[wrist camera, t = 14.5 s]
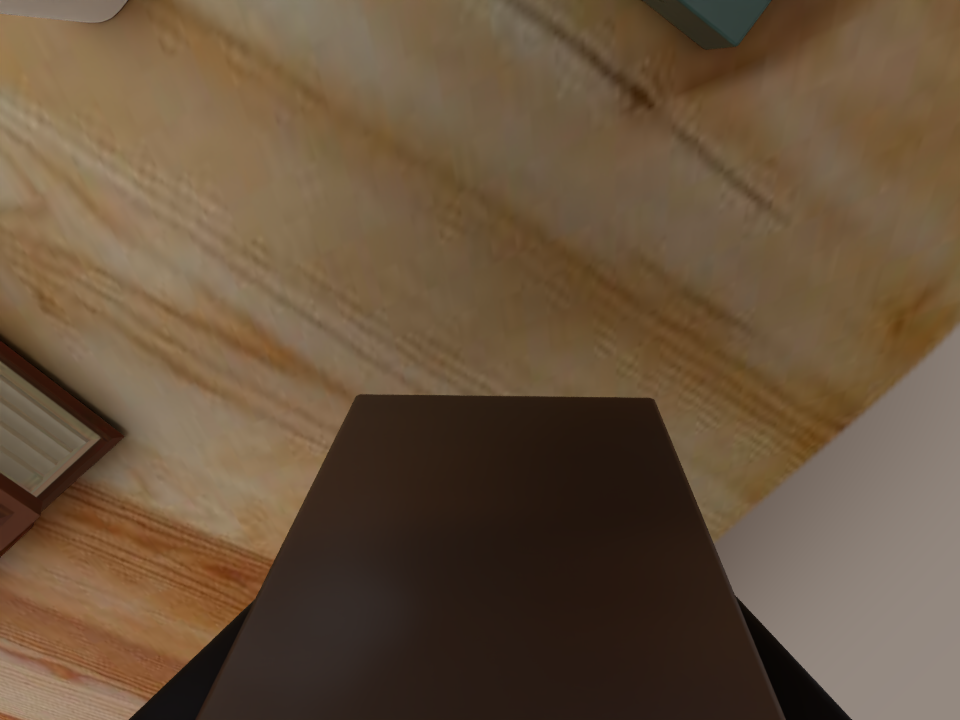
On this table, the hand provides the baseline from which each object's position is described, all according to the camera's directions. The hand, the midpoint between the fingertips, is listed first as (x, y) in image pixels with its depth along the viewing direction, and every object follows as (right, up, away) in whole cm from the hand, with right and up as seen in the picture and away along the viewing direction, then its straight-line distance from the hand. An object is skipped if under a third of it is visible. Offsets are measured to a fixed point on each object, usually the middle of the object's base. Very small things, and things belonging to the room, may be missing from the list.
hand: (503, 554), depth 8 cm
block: (0, 0, +1) cm, 1 cm away
